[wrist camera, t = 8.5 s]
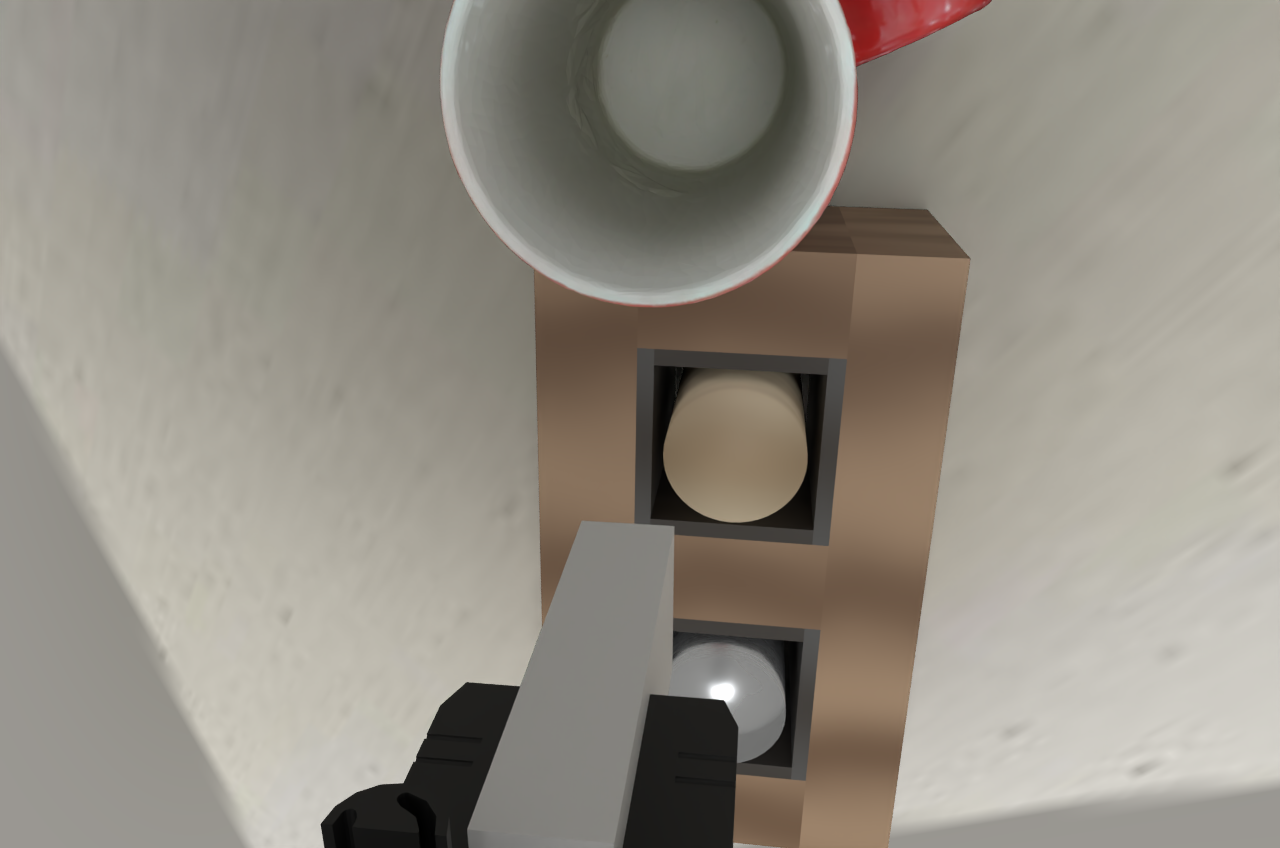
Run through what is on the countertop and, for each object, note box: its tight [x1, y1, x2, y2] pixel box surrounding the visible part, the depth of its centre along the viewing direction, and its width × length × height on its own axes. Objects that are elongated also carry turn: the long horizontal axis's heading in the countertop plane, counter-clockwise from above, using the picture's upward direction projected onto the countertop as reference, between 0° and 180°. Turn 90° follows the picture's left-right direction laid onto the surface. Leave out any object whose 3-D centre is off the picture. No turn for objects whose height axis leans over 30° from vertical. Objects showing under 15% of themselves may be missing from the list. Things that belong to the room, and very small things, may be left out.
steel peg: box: [668, 631, 786, 763], centre depth 36 cm, size 4×4×8 cm
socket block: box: [534, 206, 970, 848], centre depth 35 cm, size 21×12×8 cm, turn 179°
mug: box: [440, 0, 992, 307], centre depth 27 cm, size 13×9×14 cm
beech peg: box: [663, 367, 808, 522], centre depth 33 cm, size 4×4×8 cm
